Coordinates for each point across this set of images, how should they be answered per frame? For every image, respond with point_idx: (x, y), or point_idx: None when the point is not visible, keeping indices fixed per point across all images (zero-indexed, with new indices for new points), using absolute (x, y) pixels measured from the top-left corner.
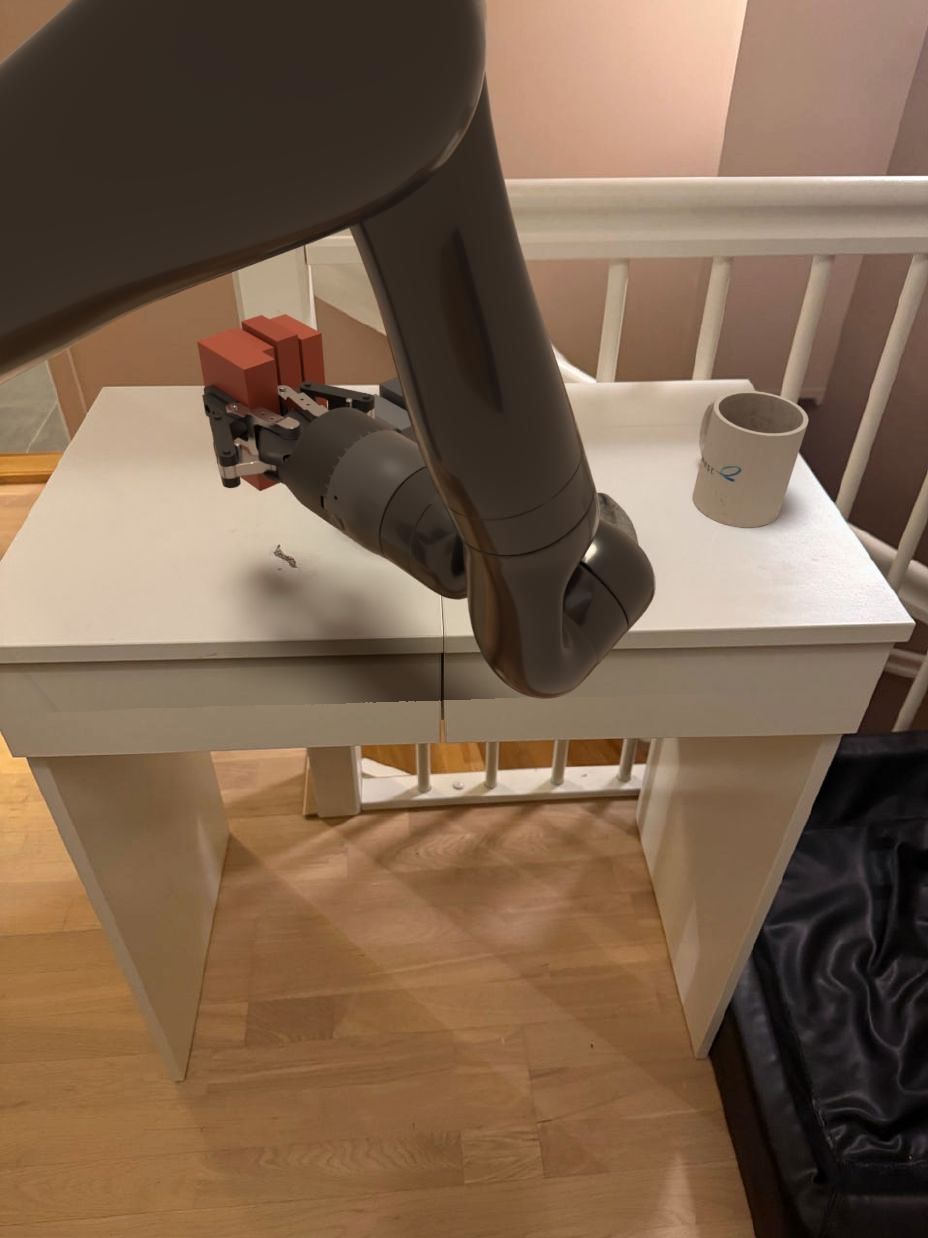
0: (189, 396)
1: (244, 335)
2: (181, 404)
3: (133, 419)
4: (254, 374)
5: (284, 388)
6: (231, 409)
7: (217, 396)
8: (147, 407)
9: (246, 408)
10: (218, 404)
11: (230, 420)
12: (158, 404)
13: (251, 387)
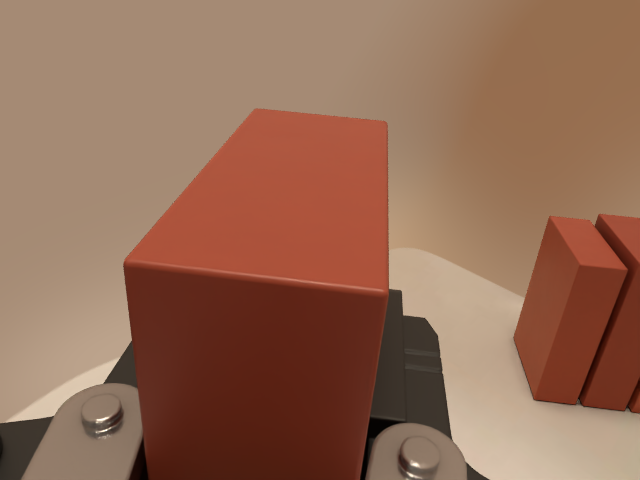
0: (490, 282)
1: (589, 234)
2: (472, 286)
3: (404, 276)
4: (202, 323)
5: (422, 468)
6: (62, 424)
7: None
8: (432, 271)
9: (109, 470)
10: None
11: (17, 475)
12: (447, 273)
13: (174, 382)
